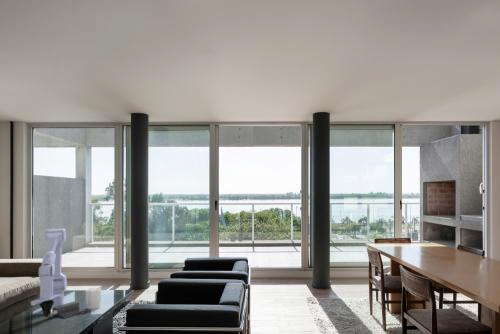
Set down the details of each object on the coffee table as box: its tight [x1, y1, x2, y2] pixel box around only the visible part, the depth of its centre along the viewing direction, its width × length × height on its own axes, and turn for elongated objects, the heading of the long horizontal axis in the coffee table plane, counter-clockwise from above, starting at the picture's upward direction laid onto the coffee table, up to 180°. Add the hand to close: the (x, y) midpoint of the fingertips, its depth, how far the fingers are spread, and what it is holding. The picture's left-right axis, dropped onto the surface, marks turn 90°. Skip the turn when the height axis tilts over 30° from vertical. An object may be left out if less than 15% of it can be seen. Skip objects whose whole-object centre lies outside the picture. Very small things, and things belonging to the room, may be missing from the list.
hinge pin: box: [48, 310, 57, 318], centre depth 196 cm, size 14×4×4 cm, turn 149°
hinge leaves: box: [52, 301, 87, 319], centre depth 198 cm, size 12×16×4 cm
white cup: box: [85, 287, 102, 310], centre depth 207 cm, size 8×8×10 cm
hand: (46, 316), depth 188 cm, fingers closed
